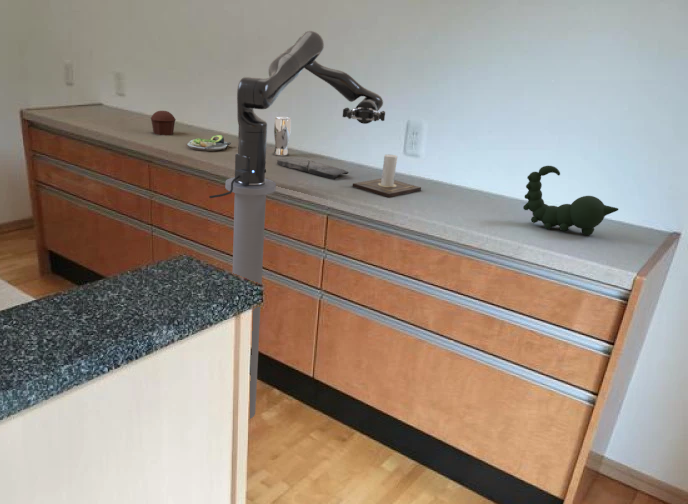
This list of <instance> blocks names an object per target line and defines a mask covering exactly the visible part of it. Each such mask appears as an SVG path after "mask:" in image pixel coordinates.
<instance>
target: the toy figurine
mask: <svg viewBox="0 0 688 504" xmlns="http://www.w3.org/2000/svg"><path fill="white" fill-rule="evenodd" d="M548 174H556V175H557V176H561V171H560V170H559V169H558V167H555V166H553V165H543V166H542V167H539V170H538V171H532V172H530V173H529V175H527V178H526V179H527V180H528V182H527V184H526V185H525V188H526V189H527V190H528V191H527V192H526V193H525V194H524V199H526V200H527V202H526V203H525V204H524V205H523V210H524V211H530V212H532V217H531V219H530V221H531V223H533V224H535V223H538V222H541V223H542V224H543V227H544V228H545V229H546V230H550V229H551V228H552V227H557V226H558V227H559V230H560V231H561V232H566V231H568V230H569V229H570V227H573V226H574V227H576V228H578V229H580V230H581V233H582V234H583V235H584V236H591V235H592V234H593V233H594V232H595V228H596V227H597V226H599V225H600V224H601V223H602V222H603V221H604V219H605V217H606V216H607V215H610V214H613V213H616V212H618V211H619V208H618V207H614V206H610V205H607V204H605V203H604V202H603V201H602V200H601V199H600V198H598V197H596V196H593V195H583V196H580V197H578V198H576V199H575V200H574V201H572V203H563V204H561V205H558V206H557V205H548V204H546V203H545V201H544V199H543V192H542V190H541V189H542V186H543V184H542V177H544V176H546V175H548Z"/></svg>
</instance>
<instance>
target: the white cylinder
mask: <svg viewBox="0 0 688 504" xmlns="http://www.w3.org/2000/svg"><path fill="white" fill-rule="evenodd" d="M397 163H398V155H396V154H384V156H383V165H382V172H381V178H382V179H381V178H380V179H381V185H384V186H393V185H394V180H395V177H396V172H397V171H396V170H397Z"/></svg>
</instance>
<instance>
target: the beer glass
mask: <svg viewBox="0 0 688 504" xmlns="http://www.w3.org/2000/svg"><path fill="white" fill-rule="evenodd" d="M291 133H292V117H290V116H274V125H273V135H274V150H273V155H274V156H278V157H286V156H289V142H290V136H291Z"/></svg>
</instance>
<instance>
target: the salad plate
mask: <svg viewBox="0 0 688 504" xmlns="http://www.w3.org/2000/svg"><path fill="white" fill-rule="evenodd" d="M229 145H232V142H230V141H229V142H228V141H225V138H224V136H223V135H222V134H215V135H213V136H211V137H210V138H209V139H205V138H201V137H199V138H195V139H191V140H190V141H188V143H187V147H189V148H190V149H191V150H194V151H201V152H218V151H223V150H225V149H226V148H227V147H229Z"/></svg>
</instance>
